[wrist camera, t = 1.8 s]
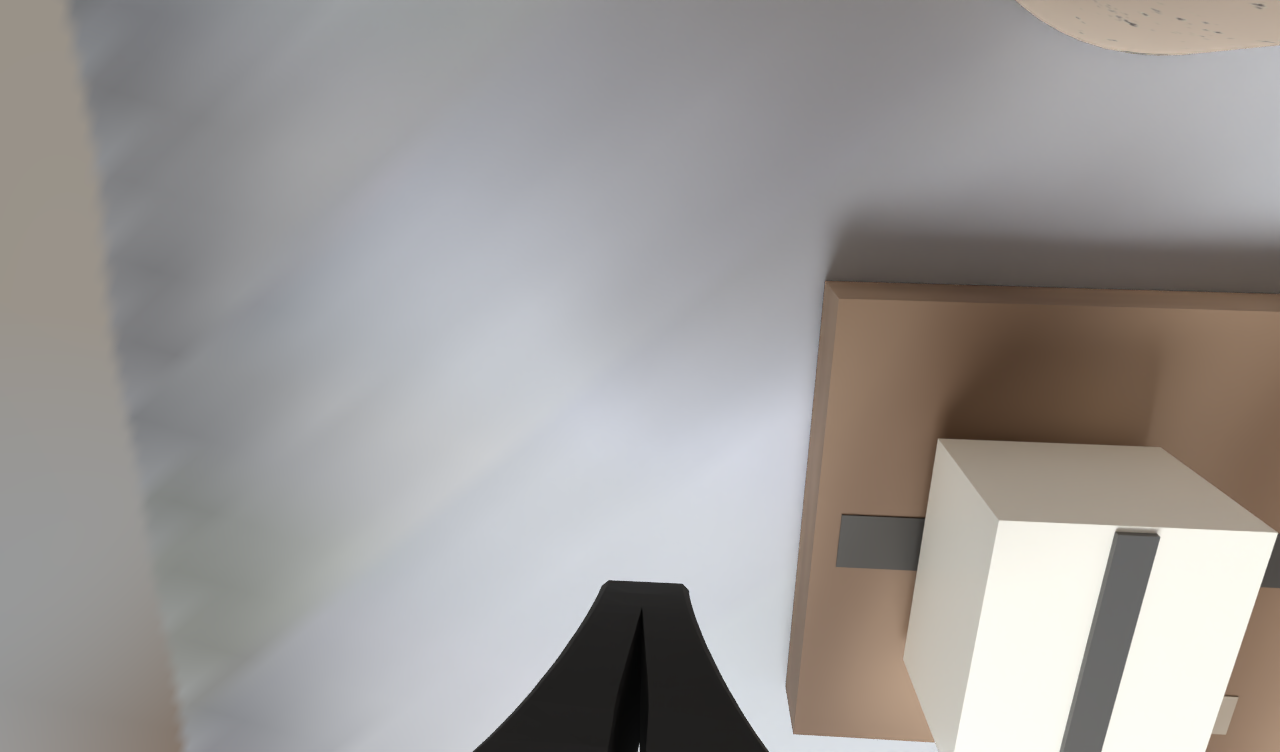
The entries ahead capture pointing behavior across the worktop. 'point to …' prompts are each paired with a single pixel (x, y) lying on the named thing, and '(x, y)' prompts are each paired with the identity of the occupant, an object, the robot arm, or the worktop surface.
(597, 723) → the robot arm
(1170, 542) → the fader tab
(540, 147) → the worktop surface
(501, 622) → the worktop surface
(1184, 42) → the teacup with lid
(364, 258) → the worktop surface
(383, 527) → the worktop surface
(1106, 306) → the console board
